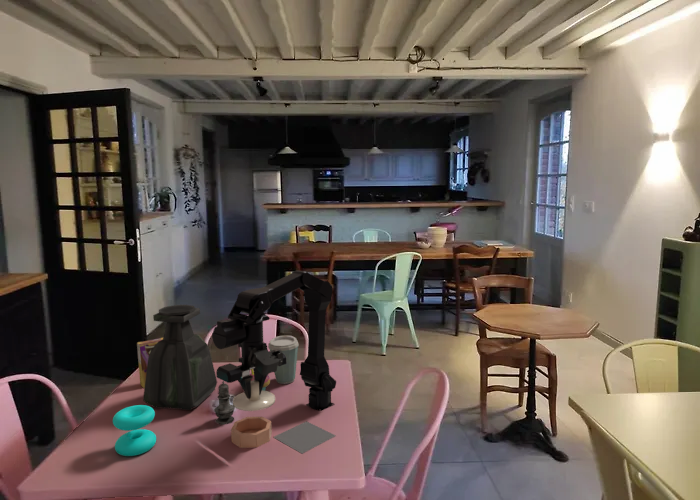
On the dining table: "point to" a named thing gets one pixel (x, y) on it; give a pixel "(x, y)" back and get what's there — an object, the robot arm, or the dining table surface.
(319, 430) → the mat
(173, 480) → the dining table surface
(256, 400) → the lid
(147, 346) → the candy box
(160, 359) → the bottle
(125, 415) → the donuts
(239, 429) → the bowl
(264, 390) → the cupcake
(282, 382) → the disposable coffee cup
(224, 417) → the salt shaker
